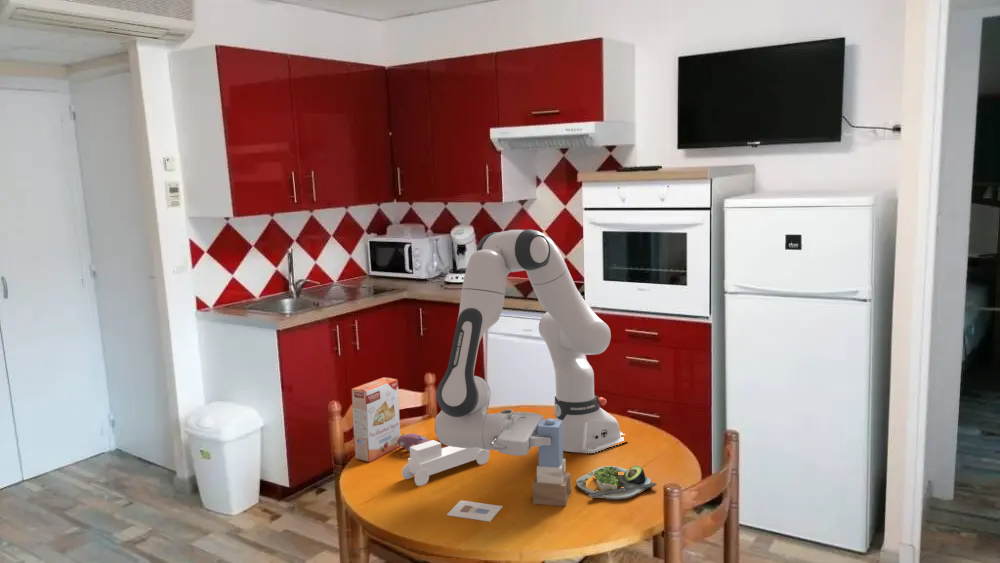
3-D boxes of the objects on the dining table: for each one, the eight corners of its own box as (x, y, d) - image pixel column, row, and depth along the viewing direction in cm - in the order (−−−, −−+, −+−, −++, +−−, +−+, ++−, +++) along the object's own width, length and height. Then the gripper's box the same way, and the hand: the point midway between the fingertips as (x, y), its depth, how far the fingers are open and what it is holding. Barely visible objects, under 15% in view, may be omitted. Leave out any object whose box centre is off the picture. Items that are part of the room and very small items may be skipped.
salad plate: (616, 513, 175) (615, 494, 174) (559, 491, 188) (559, 474, 187) (664, 487, 188) (664, 470, 187) (608, 468, 201) (608, 452, 200)
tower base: (539, 489, 188) (538, 455, 187) (570, 492, 186) (570, 457, 185) (532, 503, 181) (531, 468, 179) (565, 506, 179) (564, 470, 177)
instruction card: (460, 501, 184) (460, 499, 184) (502, 506, 180) (502, 505, 180) (446, 515, 176) (446, 514, 176) (490, 521, 172) (489, 520, 172)
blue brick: (543, 458, 185) (542, 416, 184) (563, 459, 184) (562, 417, 182) (539, 466, 181) (537, 422, 179) (559, 467, 179) (558, 424, 178)
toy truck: (416, 488, 192) (414, 454, 191) (401, 480, 198) (399, 447, 196) (491, 462, 208) (490, 430, 207) (475, 455, 214) (474, 424, 212)
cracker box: (370, 463, 210) (366, 391, 207) (354, 459, 213) (349, 388, 210) (402, 447, 221) (398, 378, 218) (386, 443, 225) (382, 376, 221)
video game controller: (399, 455, 219) (393, 438, 215) (406, 444, 222) (399, 427, 218) (430, 459, 215) (424, 442, 211) (436, 447, 219) (430, 430, 215)
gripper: (486, 434, 174) (544, 438, 171) (508, 407, 194) (561, 409, 190) (487, 460, 175) (545, 464, 172) (509, 430, 195) (562, 433, 191)
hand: (554, 435), depth 181 cm, fingers open, 6 cm apart
